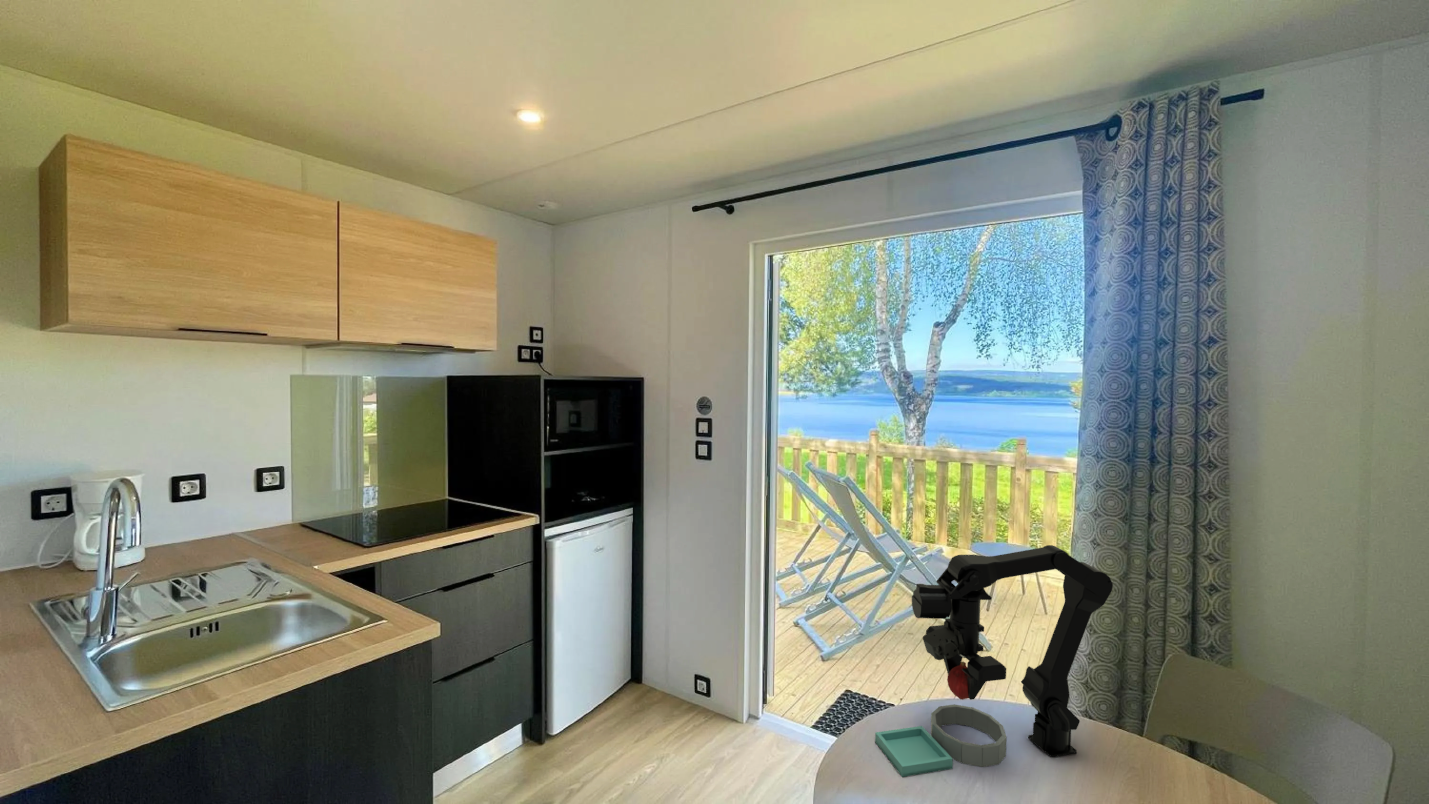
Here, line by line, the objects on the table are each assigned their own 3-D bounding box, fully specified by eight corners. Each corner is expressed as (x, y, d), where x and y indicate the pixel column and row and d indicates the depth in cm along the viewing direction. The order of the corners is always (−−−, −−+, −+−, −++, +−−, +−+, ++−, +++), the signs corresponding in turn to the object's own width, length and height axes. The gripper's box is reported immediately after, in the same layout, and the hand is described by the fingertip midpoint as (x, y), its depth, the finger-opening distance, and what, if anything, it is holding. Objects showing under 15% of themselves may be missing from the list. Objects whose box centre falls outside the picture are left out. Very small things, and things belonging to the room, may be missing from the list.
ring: (974, 718, 128) (974, 701, 128) (1020, 760, 114) (1021, 741, 114) (918, 726, 125) (918, 709, 125) (958, 770, 111) (959, 751, 111)
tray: (921, 735, 122) (921, 725, 122) (952, 768, 112) (952, 758, 112) (875, 741, 120) (875, 732, 120) (902, 776, 109) (902, 766, 109)
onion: (979, 709, 115) (981, 671, 115) (949, 705, 116) (951, 668, 116) (972, 693, 121) (974, 657, 120) (944, 689, 122) (945, 653, 122)
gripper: (905, 602, 125) (903, 671, 126) (958, 642, 107) (955, 722, 108) (950, 599, 127) (947, 666, 128) (1009, 637, 109) (1006, 715, 110)
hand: (961, 690), depth 119 cm, fingers closed on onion, 6 cm apart
